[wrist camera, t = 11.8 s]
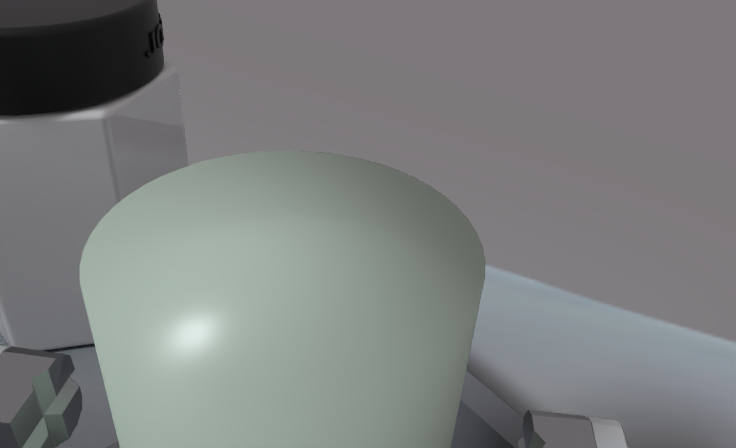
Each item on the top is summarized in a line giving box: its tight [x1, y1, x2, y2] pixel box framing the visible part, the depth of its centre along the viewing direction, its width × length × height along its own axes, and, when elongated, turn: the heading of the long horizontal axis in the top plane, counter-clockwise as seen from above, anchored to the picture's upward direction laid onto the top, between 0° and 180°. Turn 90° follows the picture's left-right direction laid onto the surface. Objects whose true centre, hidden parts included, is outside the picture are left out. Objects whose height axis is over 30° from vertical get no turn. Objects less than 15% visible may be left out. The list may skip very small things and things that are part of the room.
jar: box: [0, 0, 188, 351], centre depth 24 cm, size 9×8×12 cm
